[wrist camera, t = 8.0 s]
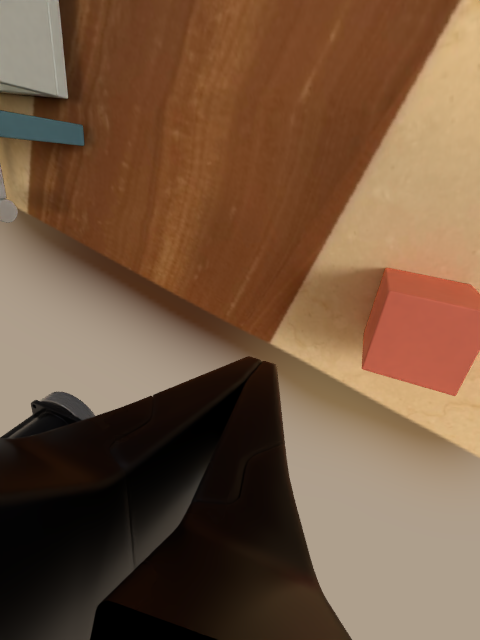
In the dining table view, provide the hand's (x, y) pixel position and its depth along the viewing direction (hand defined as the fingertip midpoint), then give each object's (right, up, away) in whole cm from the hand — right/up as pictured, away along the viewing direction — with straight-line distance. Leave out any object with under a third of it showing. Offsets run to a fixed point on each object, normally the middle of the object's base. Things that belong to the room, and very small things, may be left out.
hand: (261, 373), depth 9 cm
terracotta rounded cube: (+9, +2, +10) cm, 14 cm away
